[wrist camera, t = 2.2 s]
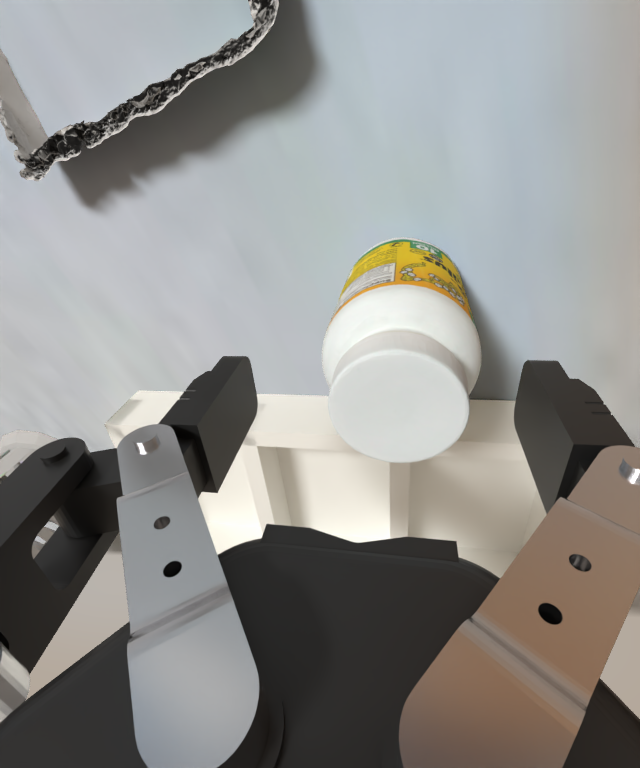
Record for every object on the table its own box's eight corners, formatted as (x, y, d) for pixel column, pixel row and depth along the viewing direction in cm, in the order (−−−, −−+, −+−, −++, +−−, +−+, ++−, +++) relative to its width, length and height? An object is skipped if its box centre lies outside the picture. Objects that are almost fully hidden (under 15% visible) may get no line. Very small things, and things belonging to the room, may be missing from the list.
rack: (571, 402, 21) (596, 447, 18) (530, 550, 27) (544, 602, 24) (138, 390, 26) (104, 424, 23) (188, 516, 32) (166, 555, 29)
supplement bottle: (325, 273, 20) (266, 377, 12) (428, 209, 17) (440, 284, 9) (382, 360, 22) (363, 498, 14) (481, 312, 19) (528, 447, 11)
